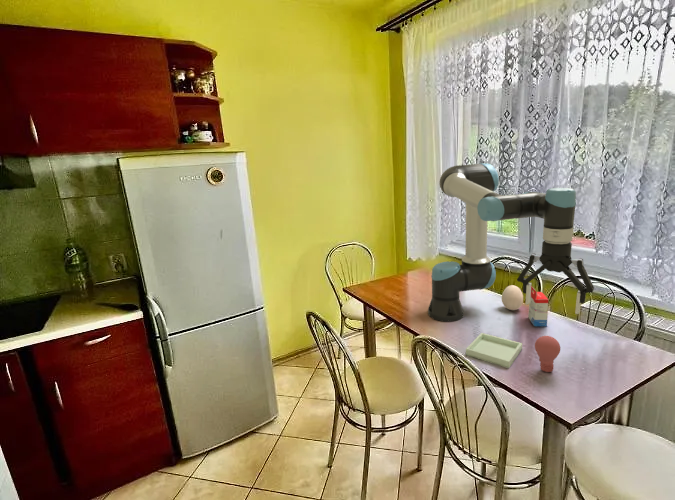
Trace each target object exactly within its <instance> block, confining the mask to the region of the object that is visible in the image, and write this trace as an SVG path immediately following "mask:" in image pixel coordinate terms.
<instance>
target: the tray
mask: <svg viewBox="0 0 675 500" xmlns="http://www.w3.org/2000/svg"><path fill="white" fill-rule="evenodd" d="M522 350H523V343H522V342H519V341H514V340H513V339H512V340H511V339H508V338H504V337H499V336H495V335H492V334H488V333H484V332H480V333H479V335H477V337H476V338H474V340H473V341H472V342H471V343H470V344H469V345H468V346H467V347H466V348H465V356H467V357H470V358H474V359H478V360H480V361H484V362H487V363H491V364H492V365H495V366H499V367H503V368H506V369H510V367H511V366H512V365H513V363H514V362H515V360H516V359H517V357H518V356H519V355H520V353H521V352H522Z"/></svg>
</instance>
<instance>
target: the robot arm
mask: <svg viewBox="0 0 675 500" xmlns="http://www.w3.org/2000/svg"><path fill="white" fill-rule="evenodd" d="M497 171H498V170H497V169H496V167H495V166H494V165H493V164H490V163H482V162H480V163H471V164H463V165H462V164H461V165H460V164H458V165H453V166H450V167H448V168H447V169H446V170H445V171H443V172H442V173H441V175H440V178H439V182H438V183H439V184H438V185H439V188H440V190H441V191H442V193H443V194H445V195H446V196H448V197H450V198H457V199H459V200H460V201H461V202H464V203H465V255H464V256H463V257H462V258H461V264H460V263H459V262H457V261H443V262H442V261H441V262H438V263H437V264H435V265H434V266H433V267H432V269H431V299H430V303H429V306H428V309H427V314H428V315H427V316H429V318H431V319H432V320H436V321H438V322H439V321H440V322H456V321H460V320H461V319H463V317H464V308H463V306H462V303H461V299H460V292H461V293H462V292H468V291H476V290H484V289H489V288H491V286H493V285H494V283H495V280H496V277H497V274H496V272H497V271H496V269H495V268H496V267H495V265H494V264H493V262H491V259H490V258H489V257H488V256H487V253H488V252H487V251H488V250H487V249H488V245H487V244H488V222H498V221H507V220H513V219H515V220H516V219H524V218H540V219H543V230H542V231H543V232H542V239H543V240H542V242H541V243H542V245H541V255H539V254H538V255H537V254H536V253H532V254H530V256H529V258H528V259H529V260H528V262H527V263H526V265H525V266H524V268H523V269H522V271H521V273H520V274H519V276H518V277H517V278H516V282H520V283H522V294H525V305H528V306H529V303H530V298H531V286H532V282H531V281H532V280H533V279H534V278H536V277H537V276H538V275H540V274H541V273H542V272H543V271H544V270H546V271H548V272H555V273H563V274H564V275H565V276H566V277H567V278H568V280H570V282H571V283H572V284H573V285H574V287H575V288H576V289H577V290H578V291H577V293H576V301H575V302H576V303H575V311H574V312H575V313H574V314H575V315H579V313H580V311H581V304H585V302H586V297H587V293H593V292H594V290H595V286H594V285H593V282H592V281H591V278H590V276H589V275H588V272H587V270H586V268H585V265H584V258H581V257H580V258H578V259H575V258H574V259H573V258H572V257H571V256H572V248H573V247H572V245H573V243H572V242H571V241H573V237H574V235H573V234H574V222H575V215H576V214H575V213H576V206H577V201H576V200H577V199H576V198H577V197H576V195H577V191H576V190H575V189H574V188H570V187H553V188H549V189H546V192H544V193H543V192H538V191H526V192H525V191H524V192H523V193H518V194H509V195H507V194H505V195H502V194H499V193H497V192H495V191H496V190H497V189H498V187H499V184H500V180H499V174H498V172H497ZM537 261H540V263H541V266H539V267H538V268H537V269H536V270H535V271H533V272H532V273H531V274H530V275H529V276H528V277H526V275H527V273H528V272H529V271H530V269H532V266H533V265H534V263H536V262H537ZM571 265H574V267H575V268H576V269H577V272H578V274H579V275H580V277H581V280H582V281H583V283H582V281H581V280H580V279H579V278H578V277H577V275H576V274H575V273H574V272H573V270H572V268H571V267H570V266H571ZM525 277H526V278H525Z"/></svg>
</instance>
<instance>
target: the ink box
mask: <svg viewBox="0 0 675 500" xmlns="http://www.w3.org/2000/svg"><path fill="white" fill-rule="evenodd" d="M548 312H549V299H548V297H547V296H546V295H545V294H544V293H543V292H542V291H537V290H536V289H535V288H534V287H533V286H532V285H531V298H530V303H529V304H528V314H527V315H528V319H529V321H530V322H531V324H532V325H533V326H534V327H547V326H548V315H549V313H548Z"/></svg>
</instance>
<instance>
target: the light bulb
mask: <svg viewBox="0 0 675 500" xmlns="http://www.w3.org/2000/svg"><path fill="white" fill-rule="evenodd" d="M534 349H535V351H536V354H537V355H538V358H539V359H538V360H539V362H540V363H539V366H540V370H541V371H543V372H547V373H550V372H553V371H554V368H555V367H554V361H555V360H556V358H557V357H558V356H559V355H560V353H561V345H560V342H559V341H558V340H557V339H556V338H555V337H553V336H551V335H542V336H540V337H538V338H537V339H536V341H535V342H534Z"/></svg>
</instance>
